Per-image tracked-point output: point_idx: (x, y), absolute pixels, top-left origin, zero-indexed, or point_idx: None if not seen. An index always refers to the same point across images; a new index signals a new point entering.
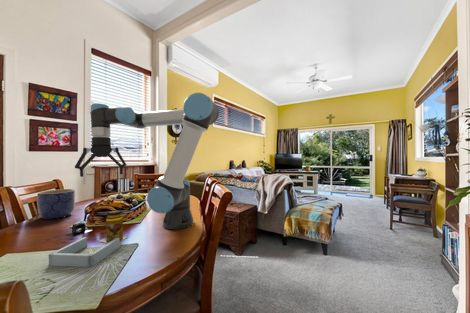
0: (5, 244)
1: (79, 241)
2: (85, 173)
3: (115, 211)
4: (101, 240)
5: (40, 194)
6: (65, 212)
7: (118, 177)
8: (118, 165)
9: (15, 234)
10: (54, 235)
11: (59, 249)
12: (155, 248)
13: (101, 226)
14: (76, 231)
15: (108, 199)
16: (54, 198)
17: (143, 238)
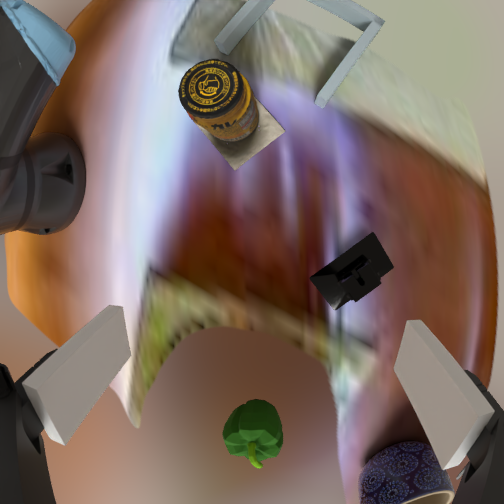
0: (496, 265)
1: (334, 72)
2: (444, 403)
3: (204, 91)
4: (274, 131)
5: (452, 489)
6: (383, 455)
7: (100, 326)
8: (12, 412)
9: (482, 342)
10: (416, 281)
11: (371, 37)
12: (139, 19)
13: (283, 306)
14: (362, 257)
15: (255, 462)
16: (422, 481)
17: (150, 92)
